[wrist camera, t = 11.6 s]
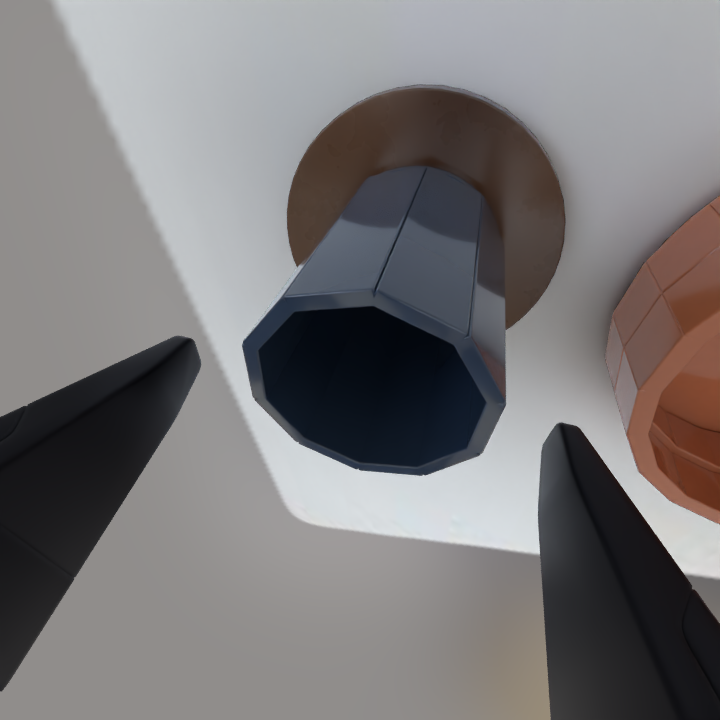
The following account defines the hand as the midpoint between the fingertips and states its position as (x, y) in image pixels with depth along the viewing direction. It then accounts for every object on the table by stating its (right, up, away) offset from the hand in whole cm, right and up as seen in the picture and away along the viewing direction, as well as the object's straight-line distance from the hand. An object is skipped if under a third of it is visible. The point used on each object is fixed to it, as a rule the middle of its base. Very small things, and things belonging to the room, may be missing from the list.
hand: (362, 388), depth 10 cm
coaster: (+2, +5, +5) cm, 8 cm away
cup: (+2, +5, +5) cm, 7 cm away
